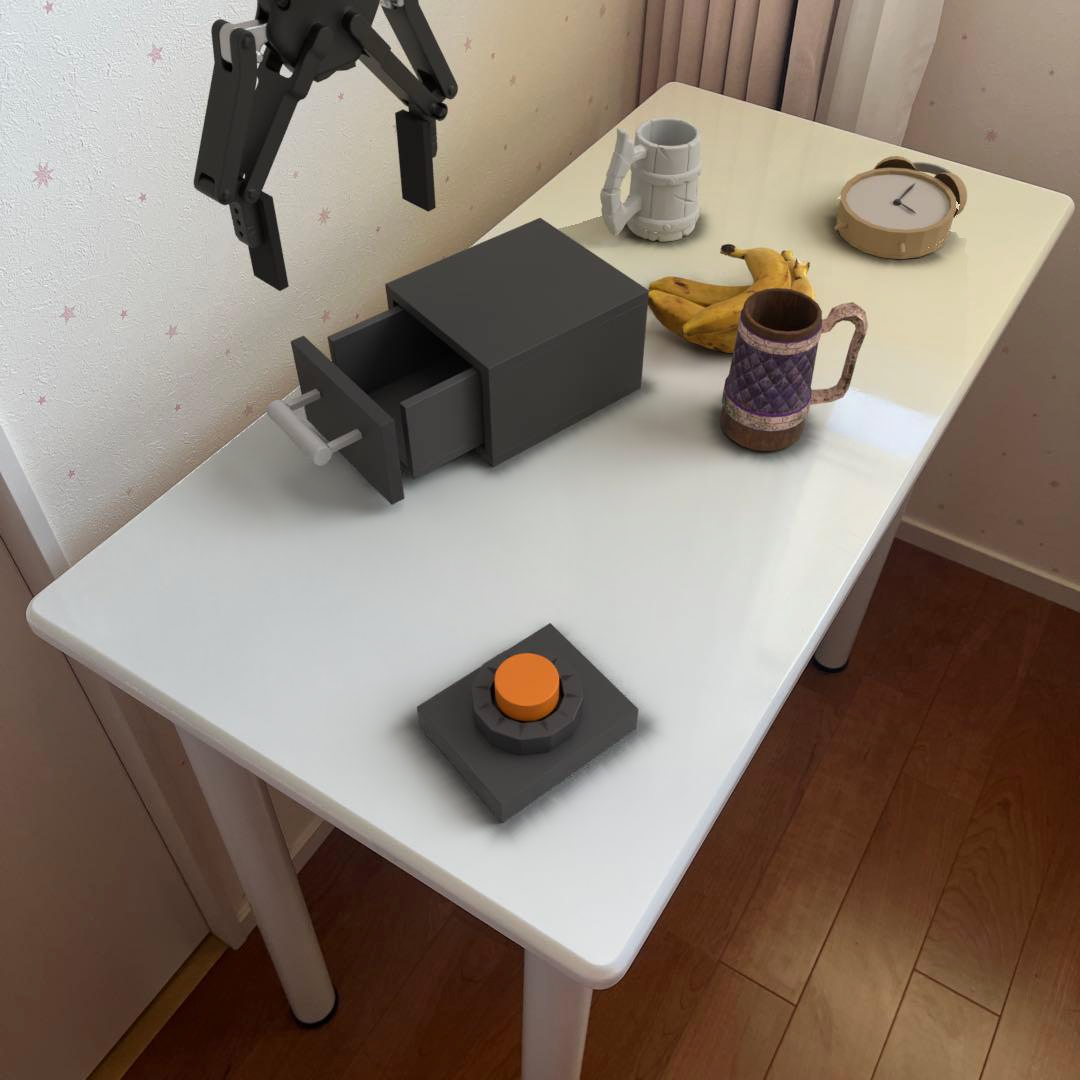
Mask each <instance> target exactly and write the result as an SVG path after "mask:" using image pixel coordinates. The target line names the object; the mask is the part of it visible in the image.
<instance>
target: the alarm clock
mask: <svg viewBox="0 0 1080 1080" xmlns="http://www.w3.org/2000/svg"><path fill="white" fill-rule="evenodd" d="M930 174H932V175H934V176H932V175H930ZM967 200H968V191H967V186H966V184H965V182H964V181H963V180H962V179H961V177H959V175H957V174H955V173H953V172H952V171H950V170H949V169H947V168H945V167H943V166H941V165H938V164H934V163H930V162H923V161H916V162H915V161H914V162H913V161H911V160H910V159H908V158H906V157H904V156H900V155H893V156H888V157H886V158H883V159H882V160H880V161H879V162H878V163H877V164H876V165H875V166H874V168H873V169H870V170H867V171H864V172H860V173H858V174H856V175H854V177H852V178H850V179H848V180H847V182H845V184H844V186H843V187H842V189H841V192H840V200H839V204H838V205H839V206H838V210H839V213H838V212H837V213H836V224H835V226H834V227H833V230H834V231H838V233H839V235H840V237H841V238H842V239H843V240H844V241H845V242H847V244H848V245H850V247H853V248H855V249H857V250H859V251H860V252H863V253H865V254H868V255H872V256H875V257H879V258H882V259H894V260H895V259H896V260H906V259H913V258H921V257H923V256H926V255H929V254H932V253H934V252H935V251H937V250H938V249H940V248H941V247H942V246H944V245H945V243H946V241H947V240H948V238H949V236H950V234H951V228H952V224H953V221H954V219H955V218H956V217H957V216H956V215H958V214H959V215H960V214H961V213H962V212H963V211H964V209H965V208H966V205H967V202H968V201H967ZM956 201H957V202H958V204H960V206H959V210H958V209H957V208H956ZM959 215H958V216H959ZM955 216H956V217H955ZM838 219H839V220H838ZM839 221H840V222H841V223H840V222H839ZM949 230H950V231H949ZM948 232H949V233H948ZM947 234H948V235H947ZM943 239H944V240H943ZM942 240H943V241H942ZM940 241H941V242H940ZM939 242H940V243H939ZM936 244H937V245H936ZM928 247H929V248H928Z"/></svg>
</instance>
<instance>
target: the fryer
mask: <svg viewBox="0 0 1080 1080" xmlns="http://www.w3.org/2000/svg"><path fill="white" fill-rule="evenodd" d="M384 287H385V294H386V302H387V310H389V309H391V308H394V307H396V306H398V305H400V306H401V307H403V308H404V309H405V310H406V311H407V312H409V313H410V314H411V315H412V316H413V317H415V318H416V319H417V320H418V321H419V322H421V323H422V324H423V325H424V326H425V327H427V328H428V329H429V330H430V331H432V332H433V333H434V334H435V335H436V336H438V337H439V338H440V339H441V340H442V341H444V342H445V343H446V344H447V345H448V346H450V347H451V348H452V349H453V350H454V351H456V352H457V353H458V354H459V355H460V356H462V357H463V358H464V359H465V360H467V361H468V362H469V363H470V364H471V365H473V366H474V367H475V368H476V369H477V370H479V371H480V372H481V378H482V396H483V415H484V433H485V443H483V444H481V445H479V446H477V447H476V448H474V449H473V450H474V451H475V453H477V454H478V455H479V456H480V457H481V458H482V459H483V460H484V461H486V462H487V463H488V464H489V465H490V466H491V467H493V468H494V467H496V466H498V465H500V464H502V463H503V462H505V461H507V460H508V459H511V458H512V457H515V456H517V455H518V454H520V453H523V452H524V451H526V450H528V449H530V448H531V447H533V446H535V445H537V444H539V443H541V442H543V441H545V440H546V439H548V438H550V437H552V436H554V435H556V434H557V433H559V432H562V431H563V430H565V429H567V428H569V427H570V426H572V425H575V424H576V423H578V422H580V421H581V420H583V419H585V418H587V417H589V416H591V415H593V414H594V413H596V412H598V411H601V410H603V409H604V408H606V407H607V406H609V405H612V404H614V403H615V402H617V401H619V400H621V399H623V398H624V397H626V396H628V395H630V394H632V393H634V392H635V391H637V390H639V389H641V388H642V378H643V368H644V355H645V344H646V331H647V319H648V308H649V306H648V295H649V291H650V290H649V289H647V288H646V287H645V286H643V285H641V284H640V283H639V282H637V281H635V280H634V279H632V278H631V277H630V276H628V275H627V274H625V273H624V272H622V271H621V270H619V269H618V268H617V267H614V266H613V265H612V264H611V263H609V262H607V261H606V260H605V259H603V258H601V257H600V256H598V255H597V254H595V253H594V252H593V251H591V250H590V249H588V248H587V247H586V246H583V245H582V244H581V243H579V242H577V241H576V240H575V239H574V238H572V237H570V236H568V235H567V234H566V233H564V232H562V231H561V230H559V229H558V228H557V227H555V226H553V225H552V224H550V223H549V222H548V221H546V220H545V219H544V218H542V217H538V218H536V219H533V220H531V221H529V222H526V223H524V224H522V225H520V226H517V227H515V228H511V229H510V230H508V231H506V232H503V233H501V234H498V235H496V236H494V237H492V238H489V239H487V240H484V241H482V242H479V243H477V244H475V245H473V246H471V247H468V248H465V249H463V250H461V251H459V252H457V253H454V254H451V255H449V256H447V257H445V258H442V259H440V260H438V261H435V262H433V263H431V264H428V265H426V266H424V267H421V268H419V269H416V270H414V271H412V272H410V273H407V274H405V275H403V276H400V277H398V278H395V279H393V280H391V281H389V282H386V283H385V284H384Z"/></svg>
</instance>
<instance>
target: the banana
mask: <svg viewBox="0 0 1080 1080" xmlns="http://www.w3.org/2000/svg"><path fill="white" fill-rule="evenodd" d="M719 254H721V255H724V256H728V257H730V258H734V259H740V260H742V261H743V260H744V262H745V265H746V266H747V267H746V268H747V269H748V271H749V273H750V275H751V277H752V284H749V285H718V284H710V283H706V282H705V283H704V282H702V281H701V282H699V281H696V280H691V279H687V278H684V277H680V276H679V277H678V276H665V277H662V278H659V279H656V280H654V281H652V282H650V283H649V284H648V285H649V286H648V290H649V295H648V308H649V309H650V310H651V312H652V314H653V315H654V317H655V318H656V320H657V321H658V322H659V323H660V324H661V325H662V326H663V327H664V328H666V329H667V330H669V332H671V333H673V334H675V335H677V336H679V337H680V338H682V339H684V340H687V341H688V342H690V343H693V344H695V345H699V346H701V347H704V348H706V349H709V350H713V351H716V352H717V351H718V352H723V353H727V354H728V353H729V354H733V352H734V347H735V342H736V337H737V332H738V323H739V318H740V313H741V310H742V309H743V306H744V303H745V301H746V300H747V299H748V297H749V296H751V295H753V294H754V293H756V292H758V291H762V290H765V289H771V288H784V289H791V290H795V291H798V292H802V293H803V294H805V295H807V296H809V297H811V298H812V299H813V300H814V301H815V302H816V295H815V294H816V293H815V290H814V288H813V285H812V283H811V282H810V280H809V278H808V276H807V275H808V272H809V269H810V266H811V265H810V264H811V262H810V261H806V260H805V261H802V262H801V261H800V260H799V259H798V258H794V257H793V256H794V255H793V251H792V250H785V249H783V250H782V251H781V253H779V252H778V251H776V250H774V249H772V248H770V247H769V248H768V247H754V248H746V249H741V248H738V247H736V246H735V245H734V244H732V243H726V244H723V245H721V247H720V252H719Z"/></svg>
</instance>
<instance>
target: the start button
mask: <svg viewBox="0 0 1080 1080" xmlns="http://www.w3.org/2000/svg"><path fill="white" fill-rule="evenodd" d="M494 682H495V698H496V702H497V705H498V707H499V708H500V709H501V711H502V712H503V713H504V714H506V715H507V716H508V717H510V718H512V719H515V720H519V721H535V720H539V719H541V718H543V717H545V716H547V715H548V714H549V713H551V712H552V711H553V709H554V708H555V706H556V705H557V702H558V699H559V675H558V672H557V669H556V668H555V666H554V665H553V664H552V663H551V662H550V661H549V660H548V659H546V658H544V657H542V656H540V655H537V654H531V653H523V654H518V655H514V656H512V657H510V658H508V659H506V660H505V661H504V662H503V663H502V664H501V665H500V666H499V667H498V669H497V671H496V674H495V679H494Z"/></svg>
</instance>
